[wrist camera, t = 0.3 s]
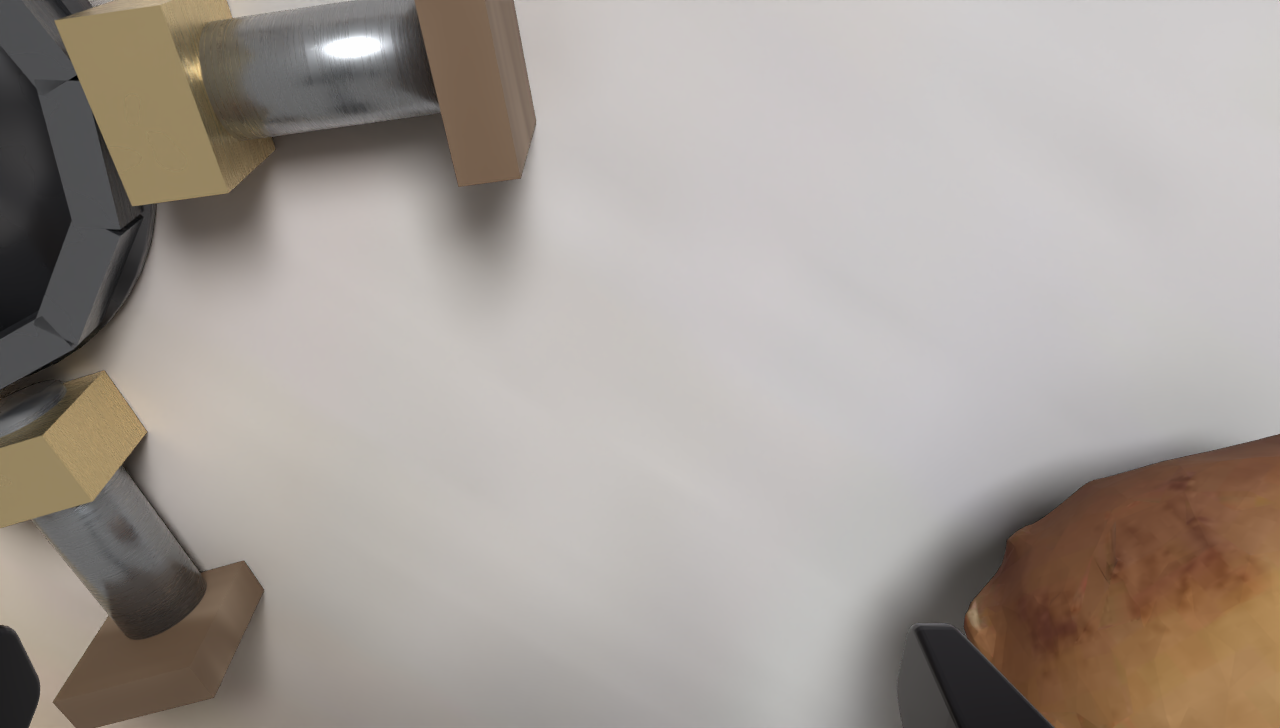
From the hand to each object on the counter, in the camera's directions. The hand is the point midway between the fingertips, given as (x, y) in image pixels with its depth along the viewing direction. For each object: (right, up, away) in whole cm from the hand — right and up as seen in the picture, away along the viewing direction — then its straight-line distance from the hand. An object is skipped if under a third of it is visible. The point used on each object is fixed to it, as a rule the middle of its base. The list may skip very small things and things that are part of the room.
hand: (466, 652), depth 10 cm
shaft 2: (-5, +10, +11) cm, 15 cm away
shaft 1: (-13, -1, +17) cm, 21 cm away
